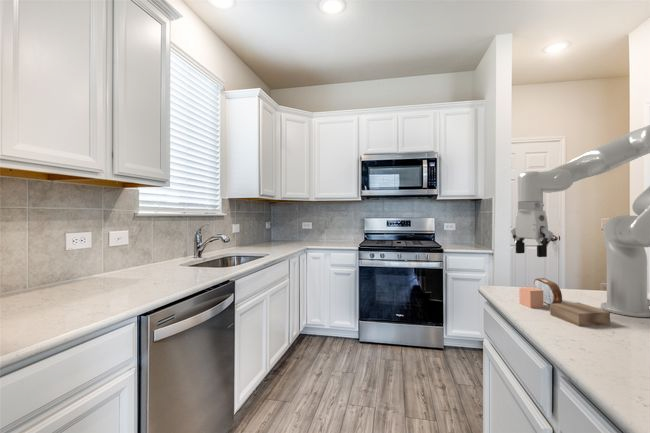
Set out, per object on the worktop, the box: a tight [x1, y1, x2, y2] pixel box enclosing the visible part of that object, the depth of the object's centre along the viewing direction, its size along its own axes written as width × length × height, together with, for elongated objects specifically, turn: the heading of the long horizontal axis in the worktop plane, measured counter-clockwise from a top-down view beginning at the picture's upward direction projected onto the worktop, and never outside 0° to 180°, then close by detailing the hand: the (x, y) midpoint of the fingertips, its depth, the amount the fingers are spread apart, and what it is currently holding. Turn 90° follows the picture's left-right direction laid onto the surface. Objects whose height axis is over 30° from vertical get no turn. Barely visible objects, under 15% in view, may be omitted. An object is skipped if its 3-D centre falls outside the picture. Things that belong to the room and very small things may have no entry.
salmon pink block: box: [518, 286, 545, 309], centre depth 108 cm, size 5×5×6 cm
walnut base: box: [549, 302, 611, 327], centre depth 94 cm, size 10×10×4 cm
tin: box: [533, 277, 563, 307], centre depth 111 cm, size 15×3×8 cm, turn 168°
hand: (530, 254), depth 108 cm, fingers open, 9 cm apart
